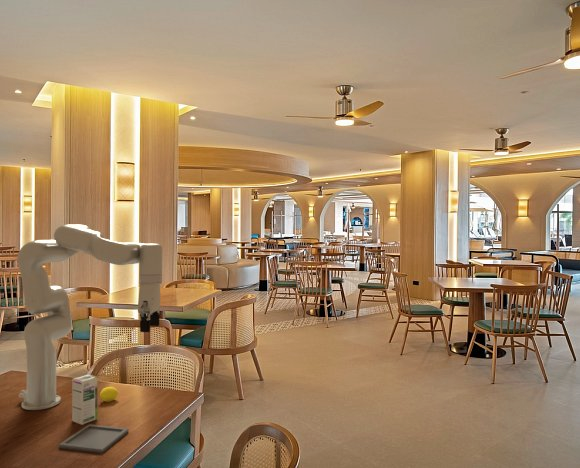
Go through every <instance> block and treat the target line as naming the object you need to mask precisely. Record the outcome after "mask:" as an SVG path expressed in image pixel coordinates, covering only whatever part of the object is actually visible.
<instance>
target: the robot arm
mask: <svg viewBox="0 0 580 468" xmlns="http://www.w3.org/2000/svg"><path fill="white" fill-rule="evenodd" d="M78 253H83V254H87V255H90V256H92V257H93V258H94V259H96V260H98V261H101V262H105V263H107V264H112V265H115V266H125V265H126V266H128V265H136V264H138V265H139V268H138V269H139V273H138V274H139V277H138V278H139V279H138V281H139V282H138V284H139V290H138V291H139V292H138V298H137V299H138V301H137V313H138V314H139V332H140V333H150V331H151V327H154V326H155V327H159V326H160V313H161V312H160V308H161V284H163V245H162V244H160V243H143V242H142V243H141V242H137V241H136V242H133V241H132V242H119V241H118V242H117V241H113V240H110V239H107V238H105V236H104V235H103V233H102V232H100V231H96V230H92V229H91V228H90V227H89V226H87V225H86V224H85V225H84V224H73V223H72V224H71V223H70V224H63V225H59V226H58V227H57V228H56V229H55V230H54V233H53V239H36V240H32V241H29V242H27V243H24V245H22V247H21V248H20V250H19V251H18V253H17V258H16V259H17V261H16V262H17V266H18V270H19V274H20V277H21V286H22V292H23V299H24V300H23V301H24V306H25V309H26V311H27V312H28V313H29V314H30V315H41V314H45V313H47V315H46V316H42V317H37V318H35V319H32V320H30V321H29V322H27V324H26V326H25V327H24V331H23V339H24V341H25V345H26V346H25V347H26V389H22V390H20V393H18V398H21V399H22V398H23V401H22V402H21V408H22V409H23V410H28V411H40V410H45V409H50V408H53V407H54V406H56V405H58V404H60V403H61V401H62V400H61V398H62V397H61V396H60V395H57V361H58V360H57V351H56V348H55V346H54V344H53V342H54V341H56V340H59V339H62V338H65V337H66V336H68V335H69V333H71V330H72V325H73V322H72V321H73V320H72V314H71V308H70V307H71V306H70V298H69V295H68V293H67V291H66V290H65V288H63V287H62V286H59V285H51V284H50V282H49V275H48V272H47V270H46V269H45V267H44V266H43V264H46V263H59V262H65V261H66V260H68V259H70V258H72V257H73V256H75V255H77V254H78Z"/></svg>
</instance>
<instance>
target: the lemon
mask: <svg viewBox="0 0 580 468" xmlns="http://www.w3.org/2000/svg"><path fill="white" fill-rule="evenodd" d="M118 396H119V392H118V390H117V388H115V387H114V386H107V387H104V388H102V390H101V391H100V393H99V394H98V397H100V399H101V400H102V401H103V402H107V403H108V402H110V403H111V402H112V401H113V402H114V400H116V398H117V397H118Z"/></svg>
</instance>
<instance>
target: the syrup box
mask: <svg viewBox="0 0 580 468" xmlns="http://www.w3.org/2000/svg"><path fill="white" fill-rule="evenodd" d="M71 382H72V383H71V384H72V386H71V388H72V389H71V396H72V397H71V400H72V405H71V406H72V411H71V413H72V415H71V416H72V418H71V419H72V422H74V423H76V424H79V425H81V426H83V425H85V424H88V423H90V422H93V421H96V420H98V376H95V375H93V374H89V373H88V374H85V375H82V376H79V377H74V378H72V379H71Z"/></svg>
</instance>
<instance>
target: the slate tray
mask: <svg viewBox="0 0 580 468" xmlns="http://www.w3.org/2000/svg"><path fill="white" fill-rule="evenodd" d="M128 433H129V428H126V427H120V426H119V427H117V426H110V425H109V426H107V425H100V424H98V425H97V424H90V423H89V424H87V425H86V426H84V427H82V428H81V429H79V430H78V431H76V432H75V433H74V434H72V435H70V436H69V437H67V438H66V439H65V440H63V441H61V442H60V443H59V444H58V449H62V450H69V451H78V452H85V453H86V452H87V453H93V454H104V452H106V451H107V450H108V449H109V448H111V447H112V446H114V445H115V444H116V443H117V442H119V440H121V439H123V438H124V437H125V436H126V435H127V434H128Z"/></svg>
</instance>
